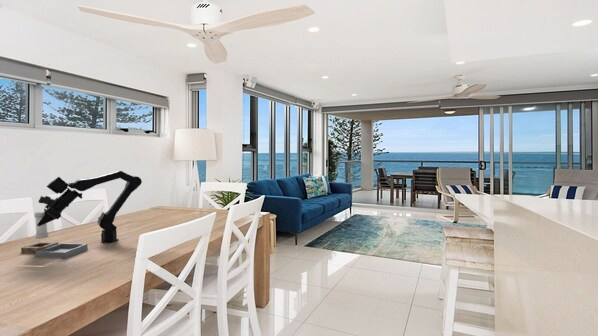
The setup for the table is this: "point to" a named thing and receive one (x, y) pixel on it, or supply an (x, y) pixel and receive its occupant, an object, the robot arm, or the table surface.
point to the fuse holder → (37, 247)
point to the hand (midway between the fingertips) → (37, 224)
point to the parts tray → (62, 250)
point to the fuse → (43, 228)
